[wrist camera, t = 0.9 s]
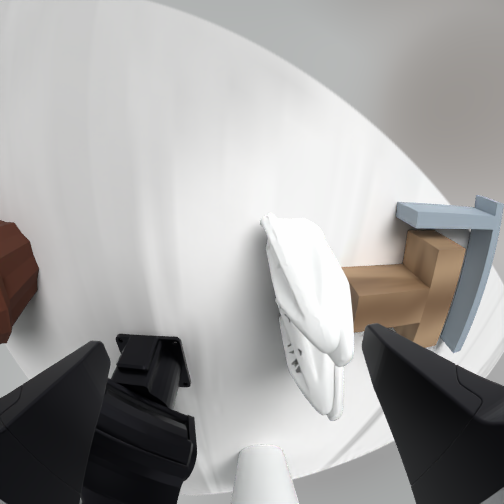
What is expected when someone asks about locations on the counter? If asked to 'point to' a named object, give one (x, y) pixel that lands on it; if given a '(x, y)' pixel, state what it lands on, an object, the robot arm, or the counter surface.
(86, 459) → the robot arm
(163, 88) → the counter surface
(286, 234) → the salt and pepper shakers
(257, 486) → the foam cup
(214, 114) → the counter surface
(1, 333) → the muffin
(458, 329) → the corner fence
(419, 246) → the T block
